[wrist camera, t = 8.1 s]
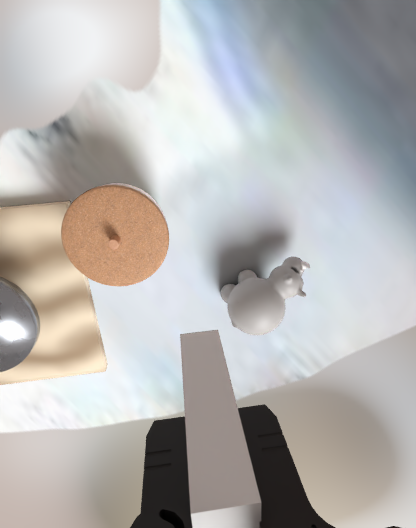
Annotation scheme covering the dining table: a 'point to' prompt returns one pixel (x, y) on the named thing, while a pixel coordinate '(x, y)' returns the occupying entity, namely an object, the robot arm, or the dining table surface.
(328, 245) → the dining table surface
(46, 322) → the flange base
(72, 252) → the lidded jar
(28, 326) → the grey pan with handle
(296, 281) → the round bodied animal figurine
